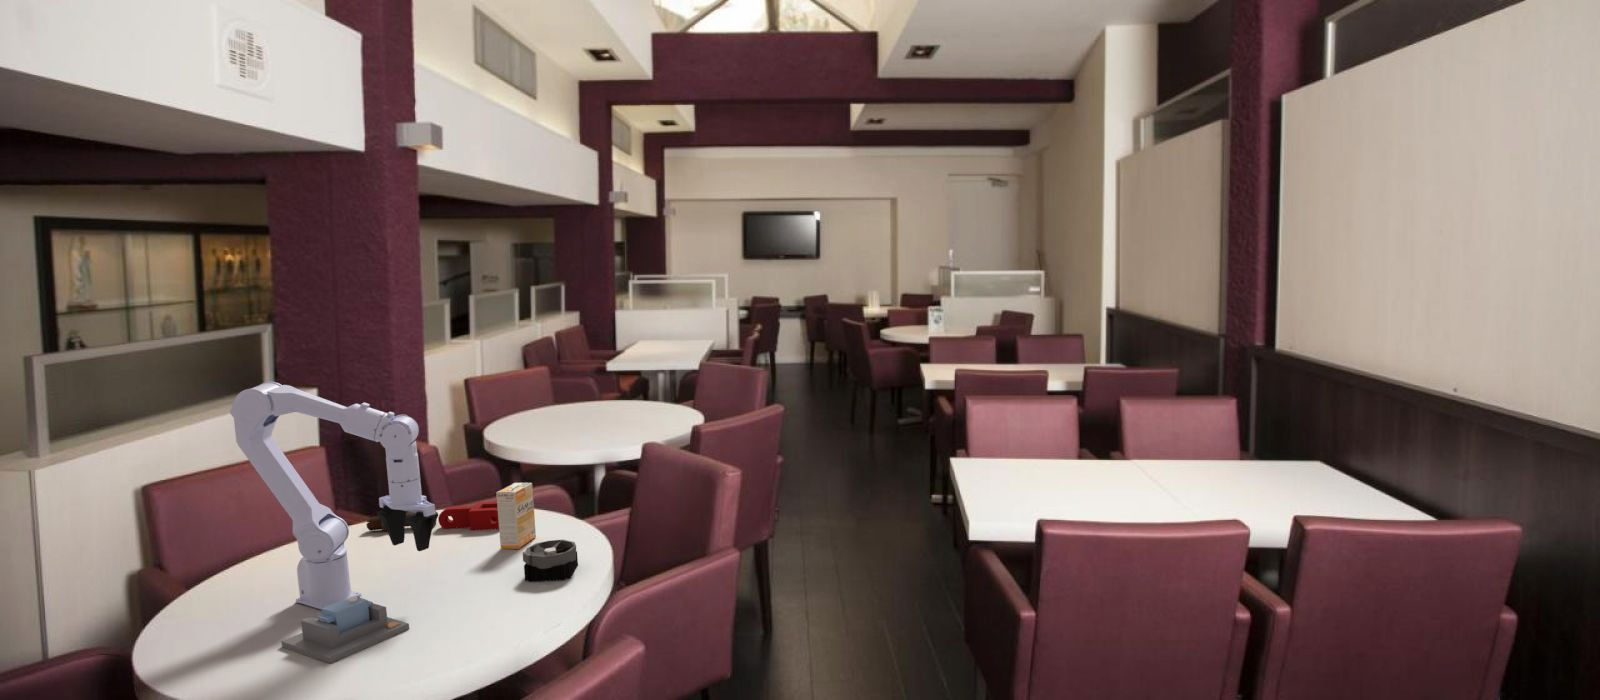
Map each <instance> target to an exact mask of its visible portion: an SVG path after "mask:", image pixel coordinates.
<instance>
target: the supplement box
mask: <svg viewBox="0 0 1600 700" xmlns="http://www.w3.org/2000/svg"><path fill="white" fill-rule="evenodd" d="M533 491H534V489H533V483H532V482H513V483H511V484H510V485H508V486H505V487H503V488H502V489H500V490H498V491H496V492H495V493H496V501H497V507H498V520H499V529H498V531H499V532H498V533H499V543H500V544H499V545H500V549H506V550H508V549H509V550H513V549H514V550H519V549H521V548H522V547H523V546H525V545H526V544H528V543H529V542H530V541H532V540H533V539H535V538H537V537H536V536H537V534H536V533H537V532H536V520H535V506H534V492H533Z"/></svg>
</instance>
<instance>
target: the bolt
mask: <svg viewBox="0 0 1600 700" xmlns="http://www.w3.org/2000/svg"><path fill="white" fill-rule="evenodd" d="M435 512H437V510H436V509H435ZM414 515H416V513H414V512H406V516H405V524H404V528H405V527H406V528H407V527H411V526H410V524H409V522H408V521H407V518H408V517H411V516H414ZM437 520H438V518H437V519H436V521H435V523H434V526H433V528H436V526H437V522H438V521H437ZM365 525H366V529H368V530H369V531H372V532H373V531H380V530H382V531H383V532H384V533H388V531H387V529H386V527H385V525H384V524H383V522H382V521H381V519H380V518H379V517H378V516H371V517H369V518H367V519H366V524H365Z"/></svg>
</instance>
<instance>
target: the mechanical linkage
mask: <svg viewBox="0 0 1600 700" xmlns="http://www.w3.org/2000/svg"><path fill="white" fill-rule="evenodd" d="M449 517H451V518H452V519H450V518H449ZM437 520H438V521H437V522H438V524H439V525H440V526H441V528H442V529H444V530H452V529H457V530H458V529H469V530H470V531H469V532H473V531H487V530H488V531H490V530H492V531H493V530H499V520H498V507H497V500H496V501H479V502H476V503H475V504H474V505H456V506H448V507H446V508H445V509H443V510H442V511H441V512H440V513H439V514H438V517H437Z"/></svg>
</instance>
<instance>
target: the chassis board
mask: <svg viewBox="0 0 1600 700" xmlns="http://www.w3.org/2000/svg"><path fill="white" fill-rule="evenodd" d="M368 608H369V618H370V621H368V622H365V623H363V624H361V625H358V626H356V627H353V628H351V629H349V630H346V631H344V632H341V633H339V626H336V625H333V624H329V623H326V622H323V621H320V620H318V618H317V619H316V618H314V617H310V616H309V617H306V618H304V619H301V620H300V623H301V631H302V632H299V634H296V635H294V636H291V637H288V638H286V639H283V640H281V641H280V642H281V647H282V648H284V649H288V650H290V651H293V652H297V653H299V654H302V655H304V656H307V657H310V658H313V659H316V660H319V661H321V662H324V663H326V664H333V663H335V662H337V661H339V660H341V659H344V658H346V657H348V656H350V655H353V654H355V653H357V652H359V651H362V650H364V649H367V648H369V647H371V646H373V645H375V644H377V643H380V642H382V641H385V640H387V639H390V638H391V637H394V636H396V635H398V634H401V633H402V632H405V631H408V630H410V624H409V622H405V621H402V620H399V619H395V618H392V617H389V616H388V614H387V612H388V611H387V607H386V606H384V605H380V604H376V603H373V605H372V606H370V607H368Z"/></svg>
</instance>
